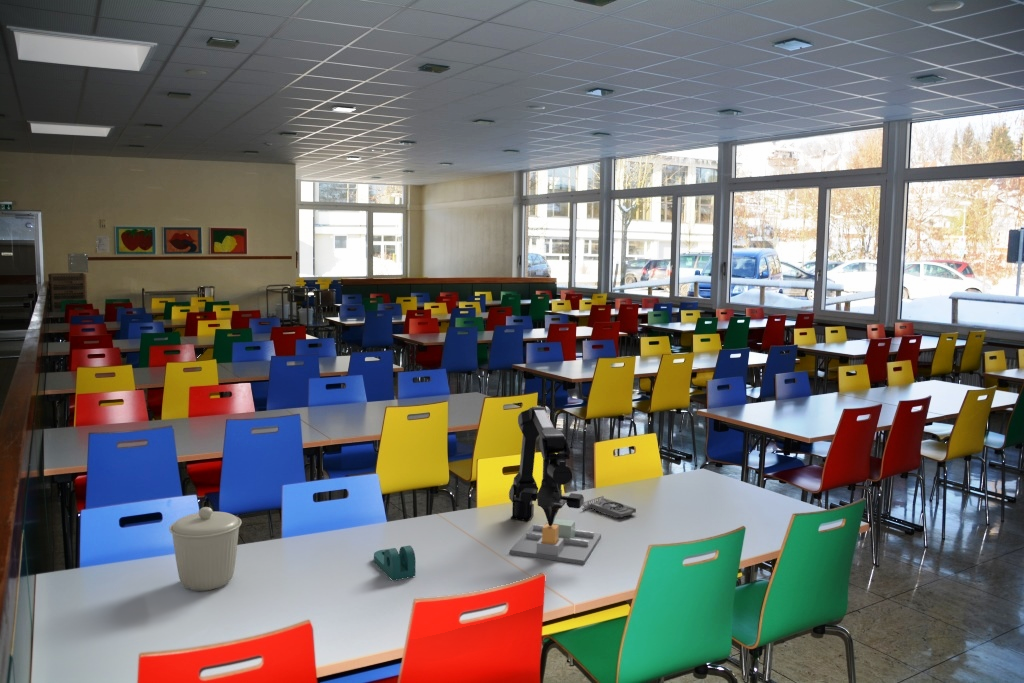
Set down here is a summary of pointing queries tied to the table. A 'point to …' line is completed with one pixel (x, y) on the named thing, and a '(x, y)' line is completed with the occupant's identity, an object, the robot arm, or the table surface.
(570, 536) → the block
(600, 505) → the graphics card
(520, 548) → the rail board
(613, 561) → the table surface
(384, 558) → the bracket
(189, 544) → the canister
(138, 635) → the table surface
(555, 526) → the button
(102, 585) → the table surface
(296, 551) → the table surface
